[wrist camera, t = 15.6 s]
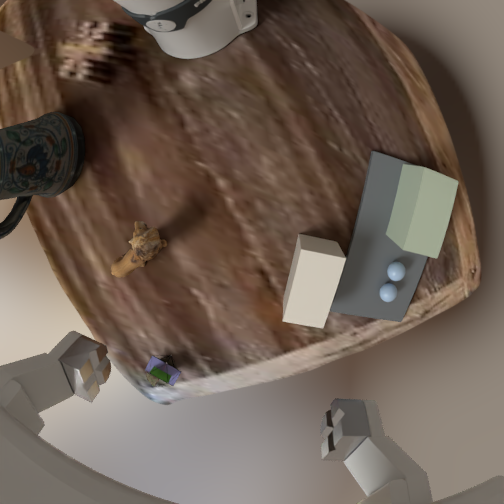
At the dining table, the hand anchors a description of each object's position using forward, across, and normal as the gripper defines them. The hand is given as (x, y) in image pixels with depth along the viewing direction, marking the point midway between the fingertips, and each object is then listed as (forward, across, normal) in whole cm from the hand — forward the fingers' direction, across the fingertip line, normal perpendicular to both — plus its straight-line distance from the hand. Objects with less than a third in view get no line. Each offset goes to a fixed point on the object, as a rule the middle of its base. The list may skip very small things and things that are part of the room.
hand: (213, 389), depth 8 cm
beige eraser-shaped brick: (+34, -8, +9) cm, 36 cm away
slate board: (+34, -20, +2) cm, 39 cm away
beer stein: (+34, +41, -3) cm, 53 cm away
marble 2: (+32, -21, +9) cm, 40 cm away
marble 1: (+32, -21, +6) cm, 39 cm away
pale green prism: (+33, -21, -5) cm, 39 cm away
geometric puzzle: (+33, +15, +36) cm, 52 cm away
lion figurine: (+34, +19, +11) cm, 40 cm away
